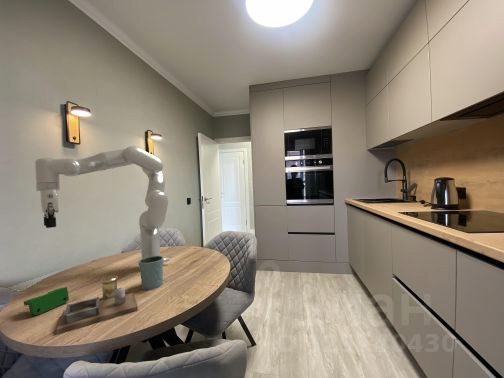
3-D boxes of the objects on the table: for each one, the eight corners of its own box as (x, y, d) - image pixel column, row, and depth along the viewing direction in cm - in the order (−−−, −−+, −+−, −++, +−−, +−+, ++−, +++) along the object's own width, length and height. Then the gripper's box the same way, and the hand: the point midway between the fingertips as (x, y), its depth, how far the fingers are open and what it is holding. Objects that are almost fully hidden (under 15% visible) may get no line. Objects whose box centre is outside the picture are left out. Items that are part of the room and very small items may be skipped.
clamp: (56, 313, 89) (62, 288, 93) (65, 312, 87) (71, 286, 91) (17, 317, 79) (25, 288, 83) (26, 315, 77) (35, 286, 81)
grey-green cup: (168, 282, 104) (168, 256, 104) (152, 292, 95) (151, 263, 95) (151, 280, 108) (150, 255, 107) (134, 289, 98) (133, 261, 98)
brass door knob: (118, 293, 95) (117, 274, 95) (118, 298, 90) (118, 278, 90) (101, 297, 91) (100, 277, 91) (101, 303, 87) (100, 282, 87)
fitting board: (133, 296, 91) (133, 280, 91) (137, 310, 80) (136, 292, 80) (63, 314, 79) (62, 296, 79) (56, 334, 68) (56, 313, 68)
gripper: (62, 186, 95) (63, 226, 95) (57, 187, 107) (58, 223, 107) (37, 186, 90) (39, 229, 90) (35, 187, 102) (36, 225, 102)
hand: (50, 226), depth 98 cm, fingers open, 9 cm apart
